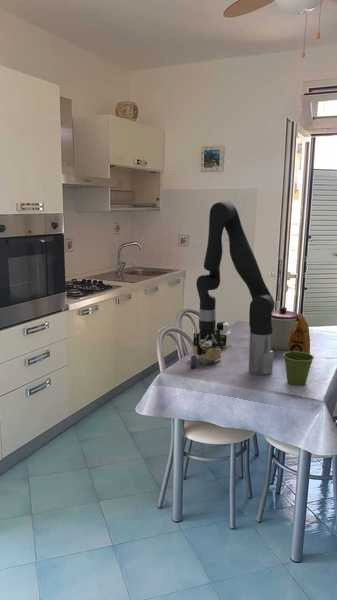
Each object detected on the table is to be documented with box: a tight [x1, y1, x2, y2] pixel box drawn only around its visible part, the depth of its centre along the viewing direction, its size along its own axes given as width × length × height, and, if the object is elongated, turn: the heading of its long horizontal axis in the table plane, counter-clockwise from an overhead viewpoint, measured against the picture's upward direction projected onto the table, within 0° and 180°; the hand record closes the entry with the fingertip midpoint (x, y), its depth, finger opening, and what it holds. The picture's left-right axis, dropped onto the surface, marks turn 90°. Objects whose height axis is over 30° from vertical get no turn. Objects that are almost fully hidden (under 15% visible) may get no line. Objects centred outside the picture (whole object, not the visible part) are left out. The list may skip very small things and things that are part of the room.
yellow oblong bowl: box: [192, 344, 222, 361], centre depth 210 cm, size 12×6×4 cm, turn 37°
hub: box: [197, 342, 221, 366], centre depth 210 cm, size 9×9×8 cm
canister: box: [272, 306, 300, 351], centre depth 231 cm, size 18×18×21 cm
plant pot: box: [282, 351, 315, 386], centre depth 184 cm, size 12×12×11 cm
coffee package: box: [287, 313, 311, 354], centre depth 206 cm, size 10×12×22 cm
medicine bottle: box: [214, 321, 232, 349], centre depth 235 cm, size 7×7×12 cm
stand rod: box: [190, 354, 198, 370], centre depth 201 cm, size 2×2×5 cm
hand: (206, 353), depth 210 cm, fingers open, 8 cm apart
